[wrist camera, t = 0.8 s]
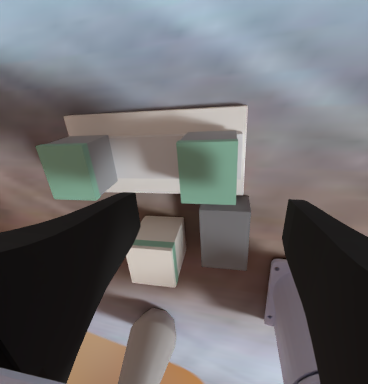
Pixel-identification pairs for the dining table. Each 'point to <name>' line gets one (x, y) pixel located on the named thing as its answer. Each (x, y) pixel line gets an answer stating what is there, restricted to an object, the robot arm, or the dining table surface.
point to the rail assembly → (151, 154)
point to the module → (158, 251)
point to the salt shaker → (148, 348)
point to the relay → (225, 234)
